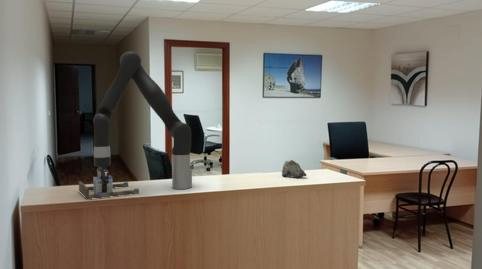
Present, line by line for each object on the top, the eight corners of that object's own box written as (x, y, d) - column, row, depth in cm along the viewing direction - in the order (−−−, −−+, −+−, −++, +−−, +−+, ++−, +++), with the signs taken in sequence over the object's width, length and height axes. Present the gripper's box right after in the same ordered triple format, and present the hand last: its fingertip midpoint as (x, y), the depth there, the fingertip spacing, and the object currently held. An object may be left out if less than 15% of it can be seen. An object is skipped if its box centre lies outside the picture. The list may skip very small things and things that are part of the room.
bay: (127, 186, 230) (127, 176, 230) (138, 193, 213) (138, 183, 213) (79, 191, 218) (78, 181, 218) (87, 199, 201) (86, 189, 201)
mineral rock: (307, 178, 250) (307, 161, 249) (290, 180, 246) (291, 162, 245) (295, 175, 262) (295, 158, 261) (279, 176, 258) (279, 159, 257)
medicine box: (96, 196, 208) (96, 178, 208) (93, 194, 212) (92, 176, 211) (113, 194, 213) (112, 176, 212) (109, 192, 217) (109, 174, 216)
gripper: (114, 157, 206) (115, 193, 208) (106, 153, 219) (107, 187, 220) (97, 158, 203) (98, 195, 204) (90, 154, 215) (91, 189, 217)
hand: (103, 190), depth 212 cm, fingers closed on medicine box, 4 cm apart
